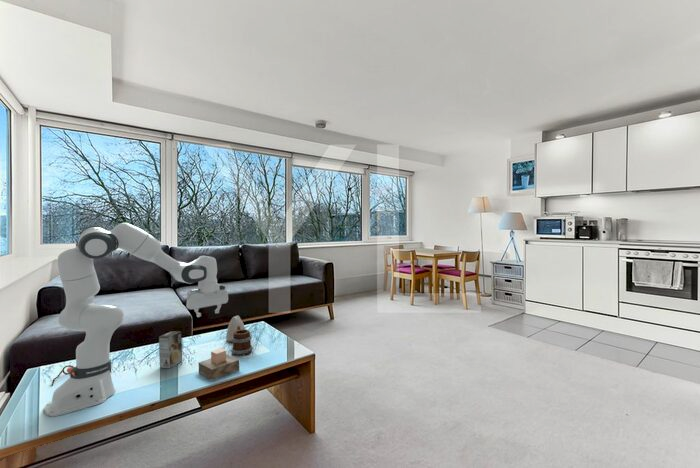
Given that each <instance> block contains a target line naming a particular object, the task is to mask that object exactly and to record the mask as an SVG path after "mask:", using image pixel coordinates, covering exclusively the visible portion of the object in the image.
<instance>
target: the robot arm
mask: <svg viewBox="0 0 700 468" xmlns="http://www.w3.org/2000/svg"><path fill="white" fill-rule="evenodd" d="M118 249H121V250H123V251H125V252H127V253H129V254H131V255H132V256H134V257H136V258H138V259H141V260H143V261H146V262H151V263H153V264H155V265H157V266H158V267H160V268H162V269H164V270H165V271H167V272H168V273H169V275H170V276H171V278H172V279H173V280H174V281H176V282H178V283H184V284H185V283H186V284H189V285H191V284H194V283H197V286H198V287H197V289H190V290H189V291H187V293H186V305H185V307H186V308H187V309H188V310H194V312H195V314H196V317H197V318H200V317H202V313H201V312H199V310H200V309H203V308H209V307H213V306H216V309H214V314H220V310H221V307H222V305H223V304H227V303H228V302H229V292H228V290H227V288H228V287H227V286H228V285H225V284H221V283H218V278H217V274H218V265H217V259H216V258H215V257H214V256H208V255H200V256H198V258H196V259H194V260H193V261H190V262H185V261H179V260H176V259H175V258H173V257H171V256H170V255H169V254H167V253H165V252H164V250H163V249H162V243H161V241H159V240H158V239H157V238H156V237H154V236H153V235H152V234H150V233H148V231H145V230H143V229H142V228H140V227H137V226H135V225H133V224H130V223H128V222H121V223H118V224H117V225H115V226H114V227H113V228H111V229H110V230H107V229H106V228H105V227H102V226H98V225H97V226H96V225H95V226H94V225H92V226H88V227H86V228H84V229H83V230H82V231H81V232H80V234H79V236H78V238H77V241H76V244H75V247H74V248H70V249H66V250H64V251H62V252H60V253H59V255H58V256H57V267H58V268H57V269H58V274H59V278H60V281H61V284H62V287H63V290H64V294H65V307H64V308H63V310H61V311H60V314H59V316H58V323H59V325H60V327H61V328H64V329H66V330H70V331H74V332H85V337H84V340H83V341H82V342H81V343H79V344H78V345H77V346H76V349H75V361H76V362H75V366H74V368H72V367H67V369H66V373H70V374H69V378H68V379H66V380H65V381H64V382H63V383H62V384H61V385H59V386H58V387H57V388H56V389H55V390H54V392H53V394H52V397H51V401H49V402H47V403H46V404H45V406H44V413H45V415H47V416H49V417H58V416H62V415H65V414H69V413H73V412H75V411H76V412H77V411H79V410H82V409H86V408H90V407H92V406H96V405H99V404H103V403H104V402H105V401H106V400H107V399H108V398H110V397H111V396H113V395H114V394H115V393H116V388H115V386H114V383H113V380H112V379H113V378H112V360H111V358H110V345H111V344H110V342H111V339H112V336H113V334H114V333H115V331H116V330H117V329H118V328H119V327H120V326H121V325H122V324H123V322H124V319H125V316H124V311H123V310H122V308H120V307H119V306H116V305H110V304H96V303H95V296H96V295H97V294H98V293H99V291H100V290H101V285H100V281H99V278H98V276H97V275H98V274H97V272H96V269H95V266H94V264H95V263H94V260H98V259H102V258H104V257H107V256H108V255H109V254H111V253H113V252H114V251H117V250H118Z"/></svg>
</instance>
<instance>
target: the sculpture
mask: <svg viewBox="0 0 700 468" xmlns="http://www.w3.org/2000/svg"><path fill="white" fill-rule="evenodd" d="M237 326H240V330H246V327H245V325H244V322H243V321H242V318H241V317H240V315H235V316H233V317H231V319H230V320H229V323H228V326H227V330H226V331H227V332H226V336H225V337H226V338H225V339H226V342H229V343H233V342H232V337H233V333H234V332H235V331H237Z"/></svg>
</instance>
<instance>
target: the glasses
mask: <svg viewBox="0 0 700 468" xmlns="http://www.w3.org/2000/svg"><path fill="white" fill-rule="evenodd" d="M69 367H72V368H74V367H75V366H74V365H70V364H69V365H65V366H63V367H62V369H61V371H60V372H59V373H58V374H57V376H56V377H54V378H53V380H52V381H51V386H50V387H54V383H55V381H56V379H58V378H59V377H60V375H62V373H63V374H64V375H70V373H68V372H65V369H66V368H69Z"/></svg>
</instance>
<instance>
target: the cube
mask: <svg viewBox="0 0 700 468" xmlns="http://www.w3.org/2000/svg"><path fill="white" fill-rule="evenodd" d="M226 354H227V350H226V349H223V348H218V349H214V350H211V352H210V359H211V362H213V363H215V364H218V363H221V362H224V361H226Z"/></svg>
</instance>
